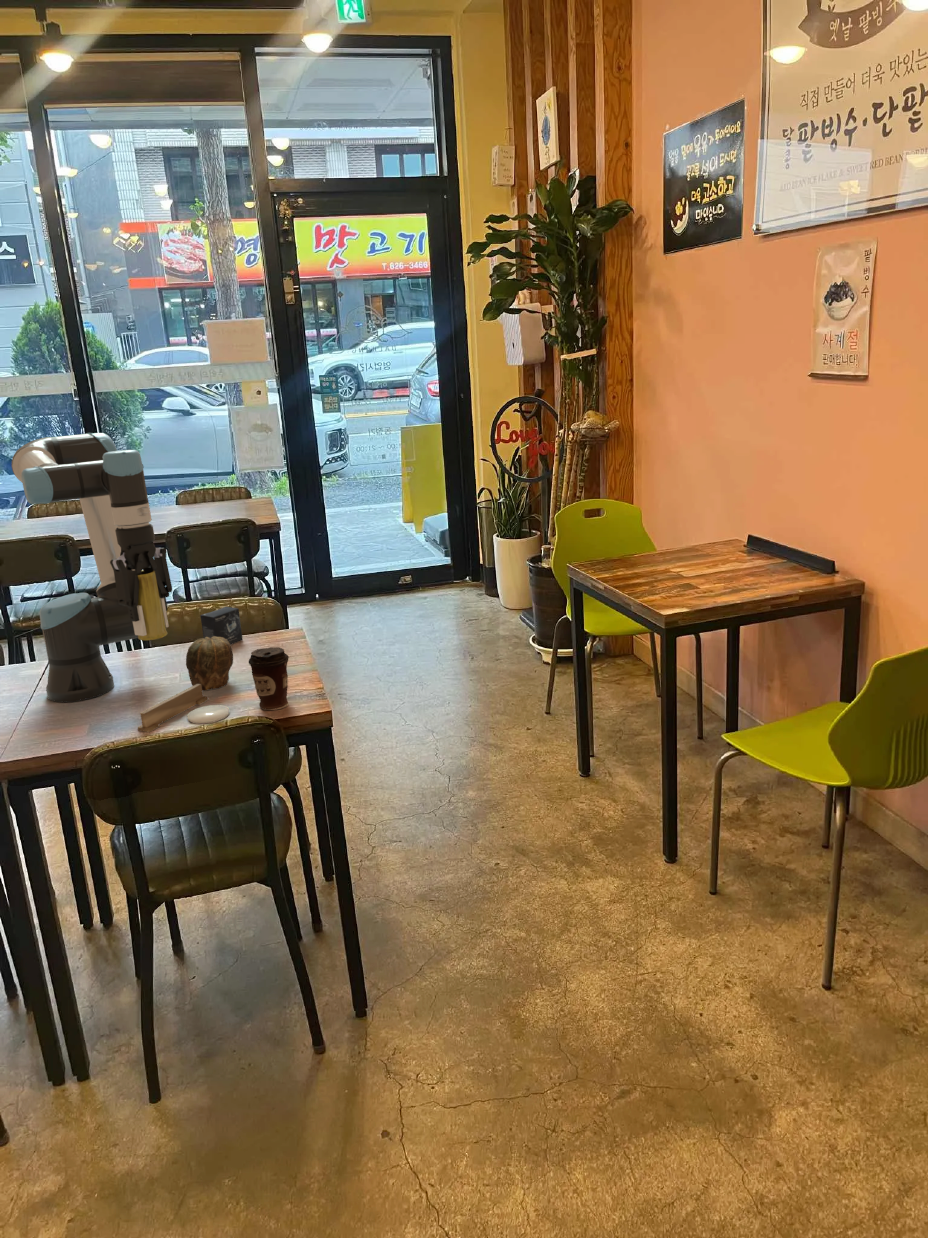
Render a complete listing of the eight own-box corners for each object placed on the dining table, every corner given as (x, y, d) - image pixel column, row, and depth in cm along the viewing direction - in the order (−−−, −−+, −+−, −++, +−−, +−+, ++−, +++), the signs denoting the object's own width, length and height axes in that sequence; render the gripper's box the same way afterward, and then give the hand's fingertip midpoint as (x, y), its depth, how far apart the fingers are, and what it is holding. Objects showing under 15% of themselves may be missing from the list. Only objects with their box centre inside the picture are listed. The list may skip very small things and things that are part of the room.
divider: (138, 730, 192) (135, 713, 191) (198, 698, 208) (195, 682, 207) (148, 732, 191) (145, 715, 189) (208, 700, 207) (205, 683, 206)
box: (218, 650, 243) (213, 617, 240) (204, 647, 246) (199, 614, 243) (243, 640, 250) (239, 607, 247) (229, 638, 253) (225, 605, 250)
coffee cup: (273, 716, 195) (266, 659, 192) (246, 709, 200) (238, 654, 196) (300, 702, 202) (294, 647, 198) (273, 696, 207) (267, 643, 203)
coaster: (178, 720, 196) (178, 718, 196) (206, 705, 204) (206, 703, 203) (211, 725, 192) (210, 723, 192) (238, 710, 200) (237, 707, 200)
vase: (138, 642, 191) (127, 577, 187) (137, 635, 196) (126, 572, 192) (168, 637, 193) (157, 572, 189) (166, 631, 198) (156, 568, 194)
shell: (224, 693, 210) (217, 645, 207) (182, 692, 213) (174, 645, 209) (244, 677, 220) (238, 631, 217) (203, 676, 223) (196, 630, 219)
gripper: (110, 533, 178) (131, 644, 184) (179, 517, 194) (195, 620, 200) (85, 533, 182) (105, 642, 188) (154, 517, 198) (171, 618, 204)
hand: (152, 630), depth 194 cm, fingers closed on vase, 6 cm apart
